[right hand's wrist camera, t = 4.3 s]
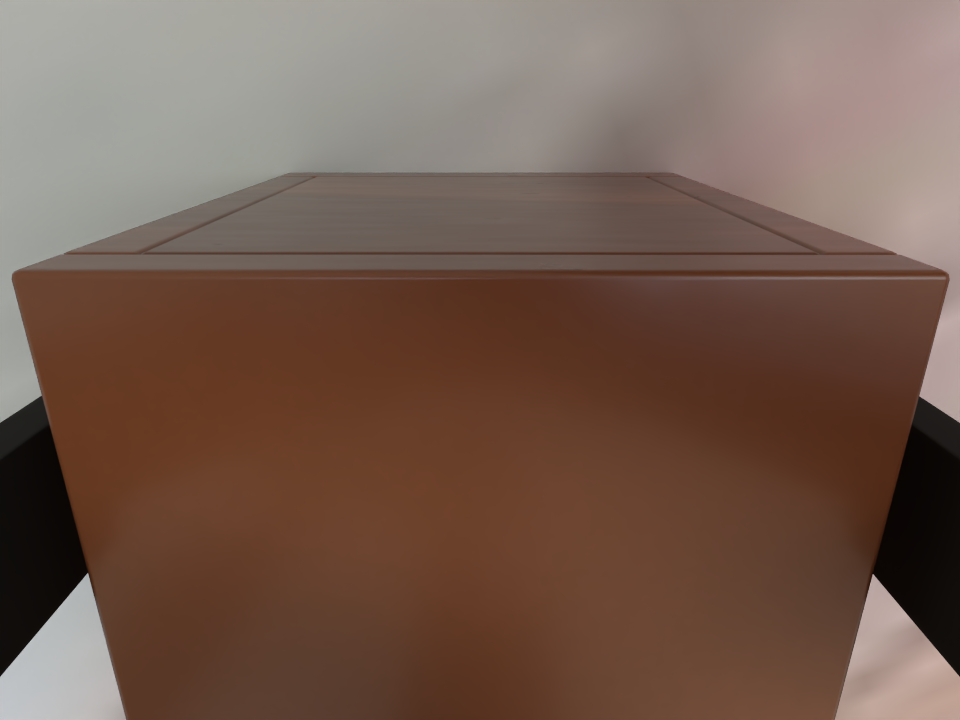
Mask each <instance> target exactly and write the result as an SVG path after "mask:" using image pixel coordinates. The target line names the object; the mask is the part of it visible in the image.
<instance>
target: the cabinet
mask: <svg viewBox="0 0 960 720" xmlns="http://www.w3.org/2000/svg"><path fill="white" fill-rule="evenodd" d="M12 282H13V286H14V290H15V294H16V297H17V301H18V305H19V309H20V313H21V317H22V320H23V324H24V328H25V332H26V336H27V340H28V343H29V347H30V351H31V355H32V359H33V363H34V367H35V370H36V374H37V378H38V382H39V386H40V390H41V393H42V397H43V401H44V405H45V409H46V413H47V416H48V420H49V424H50V428H51V432H52V436H53V439H54V443H55V447H56V451H57V455H58V459H59V463H60V466H61V470H62V474H63V478H64V482H65V486H66V489H67V493H68V497H69V501H70V505H71V509H72V512H73V516H74V520H75V524H76V528H77V532H78V536H79V539H80V543H81V547H82V551H83V555H84V559H85V562H86V566H87V570H88V574H89V578H90V582H91V585H92V589H93V593H94V597H95V601H96V605H97V608H98V612H99V616H100V620H101V624H102V628H103V632H104V635H105V639H106V643H107V647H108V651H109V655H110V658H111V662H112V666H113V670H114V674H115V678H116V681H117V685H118V689H119V693H120V697H121V701H122V705H123V708H124V712H125V716H126V720H835V716H836V712H837V709H838V705H839V701H840V697H841V693H842V689H843V686H844V682H845V678H846V674H847V670H848V666H849V663H850V659H851V655H852V651H853V647H854V643H855V640H856V636H857V632H858V628H859V624H860V620H861V617H862V613H863V609H864V605H865V601H866V598H867V594H868V590H869V586H870V582H871V578H872V575H873V571H874V567H875V563H876V559H877V555H878V552H879V548H880V544H881V540H882V536H883V532H884V529H885V525H886V521H887V517H888V513H889V509H890V506H891V502H892V498H893V494H894V490H895V486H896V483H897V479H898V475H899V471H900V467H901V463H902V460H903V456H904V452H905V448H906V444H907V440H908V437H909V433H910V429H911V425H912V421H913V417H914V414H915V410H916V406H917V402H918V398H919V394H920V391H921V387H922V383H923V379H924V375H925V371H926V368H927V364H928V360H929V356H930V352H931V348H932V345H933V341H934V337H935V333H936V329H937V325H938V322H939V318H940V314H941V310H942V306H943V302H944V299H945V295H946V291H947V287H948V283H949V274H948V273H947V272H945V271H943V270H941V269H938V268H935V267H933V266H930V265H927V264H924V263H921V262H919V261H916V260H913V259H910V258H907V257H905V256H902V255H897V254H896V253H894V252H892V251H889V250H886V249H883V248H880V247H878V246H875V245H872V244H869V243H866V242H864V241H861V240H858V239H855V238H852V237H850V236H847V235H844V234H841V233H839V232H836V231H833V230H830V229H827V228H825V227H822V226H819V225H816V224H813V223H811V222H808V221H805V220H802V219H799V218H797V217H794V216H791V215H788V214H785V213H783V212H780V211H777V210H774V209H771V208H769V207H766V206H763V205H760V204H758V203H755V202H752V201H749V200H746V199H744V198H741V197H738V196H735V195H732V194H730V193H727V192H724V191H721V190H718V189H716V188H713V187H710V186H707V185H704V184H702V183H699V182H696V181H693V180H690V179H688V178H685V177H682V176H680V175H677V174H674V173H288V174H285V175H282V176H280V177H277V178H274V179H271V180H268V181H266V182H263V183H260V184H257V185H254V186H251V187H249V188H246V189H243V190H240V191H237V192H235V193H232V194H229V195H226V196H223V197H221V198H218V199H215V200H212V201H209V202H206V203H204V204H201V205H198V206H195V207H192V208H190V209H187V210H184V211H181V212H178V213H175V214H173V215H170V216H167V217H164V218H161V219H159V220H156V221H153V222H150V223H147V224H145V225H142V226H139V227H136V228H133V229H130V230H128V231H125V232H122V233H119V234H116V235H114V236H111V237H108V238H105V239H102V240H99V241H97V242H94V243H91V244H88V245H85V246H83V247H80V248H77V249H74V250H71V251H69V252H66V253H64V255H58V256H56V257H53V258H50V259H47V260H44V261H41V262H39V263H36V264H33V265H30V266H27V267H25V268H22V269H19V270H17V271H15V272H14V273H13V274H12Z"/></svg>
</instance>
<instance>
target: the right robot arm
mask: <svg viewBox="0 0 960 720" xmlns="http://www.w3.org/2000/svg"><path fill="white" fill-rule="evenodd" d="M87 573H88V570H87V566H86V562H85V559H84V555H83V551H82V547H81V543H80V539H79V536H78V532H77V528H76V524H75V520H74V516H73V512H72V509H71V505H70V501H69V497H68V493H67V489H66V486H65V482H64V478H63V474H62V470H61V466H60V463H59V459H58V455H57V451H56V447H55V443H54V439H53V436H52V432H51V428H50V424H49V420H48V416H47V413H46V409H45V405H44V401H43V397H42V396H41V397H39V398H38V399H36V400H35V401H33V402H31V403H30V404H28V405H27V406H25V407H24V408H22V409H21V410H19V411H18V412H16V413H15V414H13V415H12V416H10V417H9V418H7V419H6V420H4V421H3V422H1V423H0V676H1V675H2V674H3V673H4V672H5V670H6V669H7V668H8V667H9V666H10V664H11V663H12V662H13V661H14V660H15V658H16V657H17V656H18V655H19V654H20V653H21V651H22V650H23V649H24V648H25V647H26V645H27V644H28V643H29V642H30V641H31V640H32V638H33V637H34V636H35V635H36V634H37V632H38V631H39V630H40V629H41V628H42V626H43V625H44V624H45V623H46V622H47V621H48V619H49V618H50V617H51V616H52V615H53V613H54V612H55V611H56V610H57V609H58V608H59V606H60V605H61V604H62V603H63V602H64V600H65V599H66V598H67V597H68V596H69V594H70V593H71V592H72V591H73V590H74V589H75V587H76V586H77V585H78V584H79V583H80V581H81V580H82V579H83V578H84V577H85V575H86V574H87ZM873 574H874V575H875V577H876V578H877V579H878V580H879V581H880V583H881V584H882V585H883V586H884V587H885V589H886V590H887V591H888V592H889V593H890V594H891V596H892V597H893V598H894V599H895V600H896V602H897V603H898V604H899V605H900V606H901V607H902V609H903V610H904V611H905V612H906V613H907V615H908V616H909V617H910V618H911V619H912V621H913V622H914V623H915V624H916V625H917V626H918V628H919V629H920V630H921V631H922V632H923V634H924V635H925V636H926V637H927V638H928V639H929V641H930V642H931V643H932V644H933V645H934V647H935V648H936V649H937V650H938V651H939V653H940V654H941V655H942V656H943V657H944V658H945V660H946V661H947V662H948V663H949V664H950V666H951V667H952V668H953V669H954V670H955V671H956V673H957V674H958V675H959V676H960V423H959V422H957V421H956V420H954V419H953V418H951V417H950V416H948V415H947V414H945V413H944V412H942V411H941V410H939V409H938V408H936V407H935V406H933V405H932V404H930V403H929V402H927V401H926V400H924V399H922V398H921V397H919V398H918V402H917V406H916V410H915V414H914V417H913V421H912V425H911V429H910V433H909V437H908V440H907V444H906V448H905V452H904V456H903V460H902V463H901V467H900V471H899V475H898V479H897V483H896V486H895V490H894V494H893V498H892V502H891V506H890V509H889V513H888V517H887V521H886V525H885V529H884V532H883V536H882V540H881V544H880V548H879V552H878V555H877V559H876V563H875V567H874V571H873Z"/></svg>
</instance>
